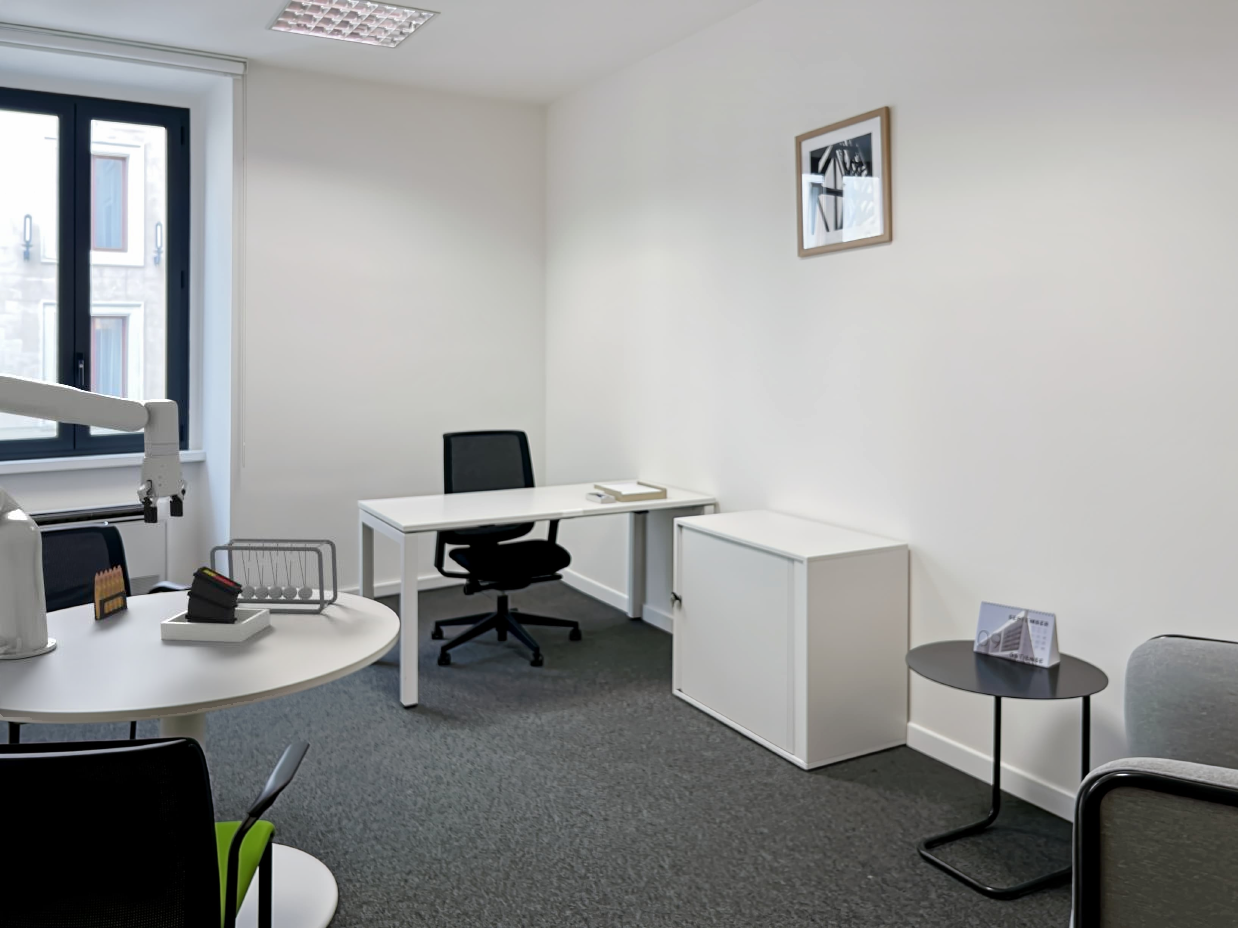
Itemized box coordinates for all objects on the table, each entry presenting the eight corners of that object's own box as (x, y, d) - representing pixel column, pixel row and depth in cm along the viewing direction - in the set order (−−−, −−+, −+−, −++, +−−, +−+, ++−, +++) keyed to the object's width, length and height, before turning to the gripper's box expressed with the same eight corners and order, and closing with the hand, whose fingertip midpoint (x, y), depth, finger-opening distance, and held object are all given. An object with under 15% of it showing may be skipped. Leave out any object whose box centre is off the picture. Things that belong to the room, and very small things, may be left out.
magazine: (182, 617, 225) (204, 564, 222) (229, 641, 224) (251, 589, 222) (173, 622, 221) (195, 568, 219) (220, 646, 220) (243, 593, 218)
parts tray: (240, 642, 214) (240, 625, 214) (161, 639, 217) (160, 622, 216) (270, 624, 228) (269, 609, 228) (195, 621, 230) (194, 606, 230)
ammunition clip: (101, 619, 232) (97, 574, 231) (94, 619, 233) (91, 573, 231) (127, 608, 243) (124, 564, 241) (121, 608, 243) (118, 564, 242)
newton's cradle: (338, 603, 248) (336, 539, 246) (323, 614, 238) (321, 547, 235) (231, 601, 250) (228, 537, 248) (212, 612, 239) (208, 546, 237)
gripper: (170, 447, 231) (172, 513, 233) (123, 452, 214) (126, 524, 216) (197, 448, 230) (199, 514, 232) (152, 454, 213) (154, 526, 215)
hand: (164, 519), depth 224 cm, fingers open, 9 cm apart
